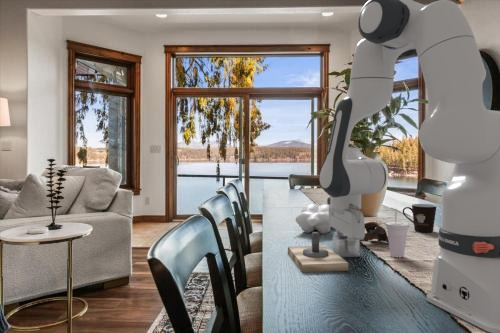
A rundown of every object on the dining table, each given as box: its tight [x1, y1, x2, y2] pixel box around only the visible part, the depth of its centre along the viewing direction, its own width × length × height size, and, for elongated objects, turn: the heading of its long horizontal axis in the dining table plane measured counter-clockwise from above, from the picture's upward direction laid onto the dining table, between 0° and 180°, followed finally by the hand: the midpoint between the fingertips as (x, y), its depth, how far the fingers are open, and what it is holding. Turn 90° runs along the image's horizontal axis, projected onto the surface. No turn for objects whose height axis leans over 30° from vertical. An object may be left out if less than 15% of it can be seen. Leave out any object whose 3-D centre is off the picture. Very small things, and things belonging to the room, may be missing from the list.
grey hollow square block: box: [332, 234, 361, 258], centre depth 110 cm, size 6×6×5 cm
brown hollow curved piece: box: [360, 221, 389, 245], centre depth 124 cm, size 12×10×8 cm
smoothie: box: [385, 208, 410, 259], centre depth 107 cm, size 6×6×14 cm
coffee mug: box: [402, 203, 438, 234], centre depth 143 cm, size 12×9×10 cm
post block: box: [287, 231, 349, 273], centre depth 102 cm, size 18×12×8 cm, turn 6°
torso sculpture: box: [295, 203, 332, 234], centre depth 144 cm, size 16×11×30 cm
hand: (345, 248), depth 110 cm, fingers closed on grey hollow square block, 6 cm apart
